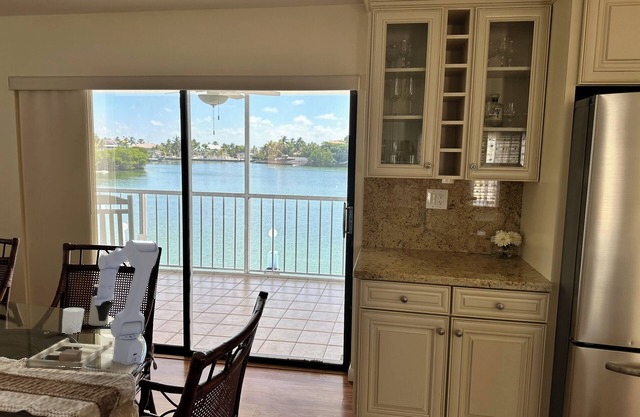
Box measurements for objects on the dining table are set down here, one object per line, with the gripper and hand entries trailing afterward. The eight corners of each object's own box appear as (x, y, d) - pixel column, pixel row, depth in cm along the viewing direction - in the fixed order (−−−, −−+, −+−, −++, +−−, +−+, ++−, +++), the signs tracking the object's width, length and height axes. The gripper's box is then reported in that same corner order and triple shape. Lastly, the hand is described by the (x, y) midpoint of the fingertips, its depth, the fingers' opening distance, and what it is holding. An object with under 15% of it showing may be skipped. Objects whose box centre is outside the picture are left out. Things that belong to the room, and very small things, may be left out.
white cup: (72, 336, 178) (75, 312, 178) (55, 333, 180) (58, 309, 180) (85, 332, 186) (88, 309, 186) (70, 329, 187) (73, 306, 188)
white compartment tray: (65, 345, 166) (66, 338, 166) (111, 348, 168) (112, 341, 168) (25, 368, 139) (26, 359, 139) (80, 371, 141) (81, 363, 141)
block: (65, 360, 147) (66, 349, 147) (80, 361, 147) (82, 350, 147) (58, 365, 142) (59, 353, 142) (74, 366, 142) (75, 354, 142)
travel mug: (84, 324, 198) (89, 285, 199) (97, 321, 206) (101, 283, 206) (99, 327, 196) (103, 287, 197) (111, 323, 204) (115, 285, 205)
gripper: (103, 282, 175) (99, 316, 174) (87, 287, 160) (83, 324, 160) (121, 283, 176) (117, 317, 175) (107, 289, 161) (103, 325, 161)
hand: (102, 320), depth 167 cm, fingers closed
